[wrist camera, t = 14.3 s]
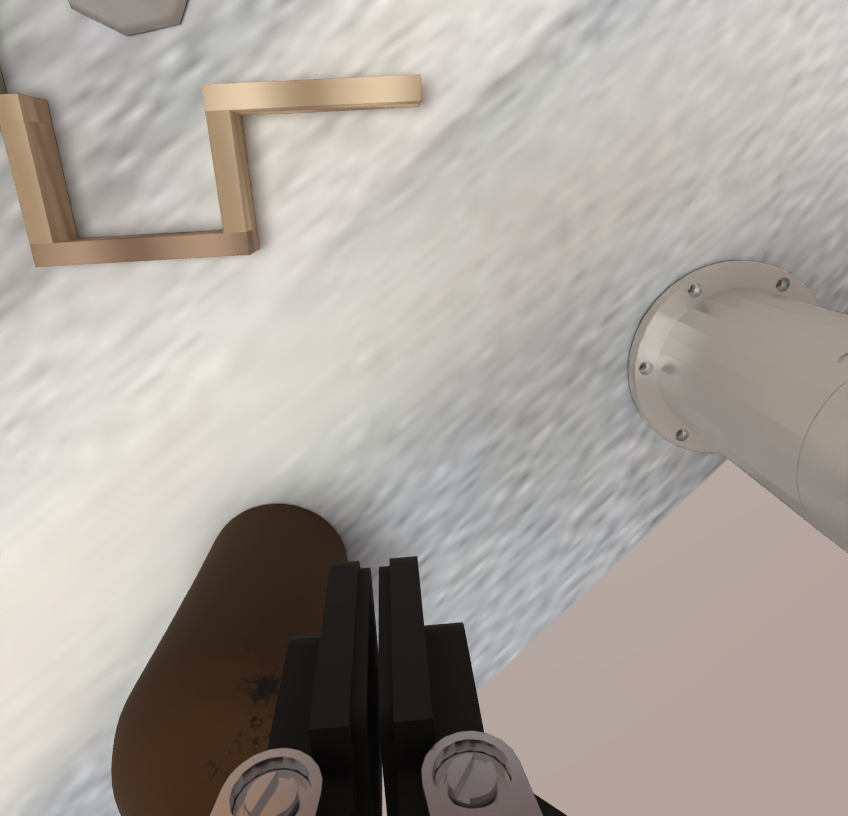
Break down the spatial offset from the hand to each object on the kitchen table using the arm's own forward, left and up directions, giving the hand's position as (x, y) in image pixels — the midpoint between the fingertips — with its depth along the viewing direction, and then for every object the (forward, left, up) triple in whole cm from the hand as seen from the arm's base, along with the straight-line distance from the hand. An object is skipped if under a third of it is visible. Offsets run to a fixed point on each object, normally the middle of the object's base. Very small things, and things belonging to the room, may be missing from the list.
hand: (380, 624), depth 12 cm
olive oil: (+8, +17, -29) cm, 35 cm away
